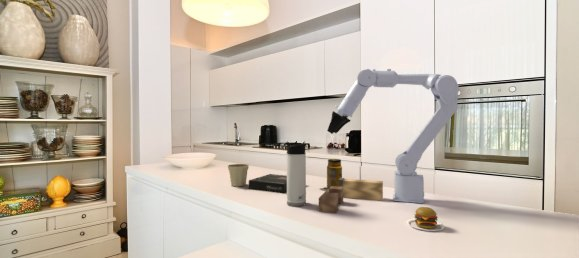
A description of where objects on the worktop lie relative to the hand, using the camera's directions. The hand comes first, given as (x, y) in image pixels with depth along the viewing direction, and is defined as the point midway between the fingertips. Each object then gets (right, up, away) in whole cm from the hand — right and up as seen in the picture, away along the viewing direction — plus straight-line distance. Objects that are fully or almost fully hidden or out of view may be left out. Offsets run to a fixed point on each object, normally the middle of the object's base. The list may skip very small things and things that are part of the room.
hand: (331, 132), depth 110 cm
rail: (+10, -23, -4) cm, 26 cm away
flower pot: (-38, -23, +18) cm, 48 cm away
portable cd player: (-21, -24, +15) cm, 35 cm away
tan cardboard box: (-1, -24, -15) cm, 28 cm away
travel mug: (-13, -24, -12) cm, 30 cm away
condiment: (+2, -23, +10) cm, 25 cm away
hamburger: (+20, -25, -33) cm, 45 cm away
